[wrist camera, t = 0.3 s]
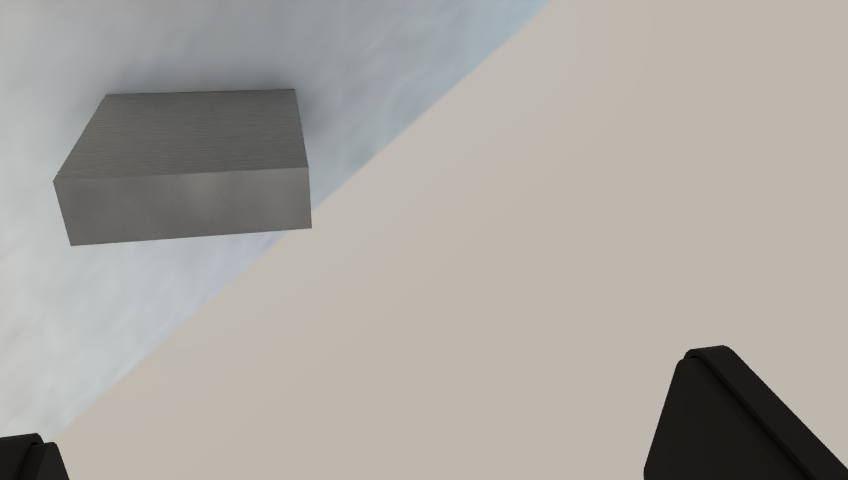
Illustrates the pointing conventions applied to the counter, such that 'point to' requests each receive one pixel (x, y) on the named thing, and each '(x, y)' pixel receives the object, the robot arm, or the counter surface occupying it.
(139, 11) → the counter surface
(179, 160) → the block
